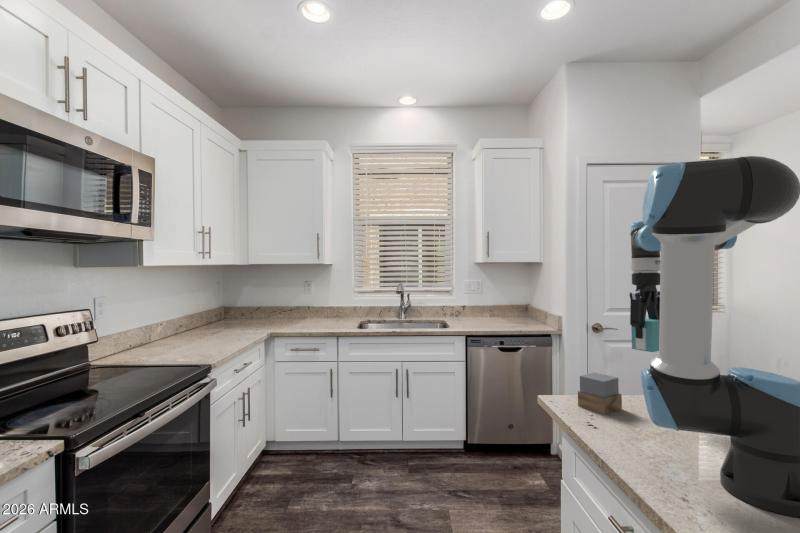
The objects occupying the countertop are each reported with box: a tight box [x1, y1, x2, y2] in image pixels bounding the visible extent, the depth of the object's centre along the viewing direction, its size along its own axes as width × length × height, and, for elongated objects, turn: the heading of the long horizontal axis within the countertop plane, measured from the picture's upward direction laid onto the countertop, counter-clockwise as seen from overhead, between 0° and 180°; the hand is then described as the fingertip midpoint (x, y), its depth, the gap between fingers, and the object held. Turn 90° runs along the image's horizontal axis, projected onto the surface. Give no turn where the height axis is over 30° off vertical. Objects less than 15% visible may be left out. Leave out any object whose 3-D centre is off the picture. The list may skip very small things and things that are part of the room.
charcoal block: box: [579, 372, 620, 398], centre depth 125 cm, size 8×8×5 cm
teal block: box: [630, 318, 660, 353], centre depth 120 cm, size 6×6×9 cm
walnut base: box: [577, 390, 623, 415], centre depth 125 cm, size 9×9×5 cm
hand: (647, 347), depth 119 cm, fingers closed on teal block, 6 cm apart
